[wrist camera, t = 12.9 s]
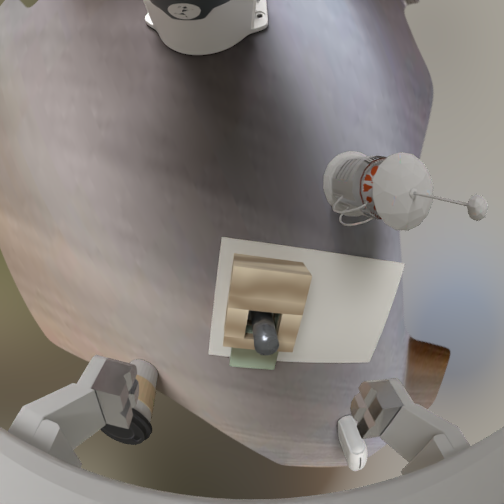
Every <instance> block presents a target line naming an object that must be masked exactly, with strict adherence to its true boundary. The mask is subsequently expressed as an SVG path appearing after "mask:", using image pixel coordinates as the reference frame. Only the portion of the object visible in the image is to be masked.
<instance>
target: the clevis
mask: <svg viewBox="0 0 504 504" xmlns="http://www.w3.org/2000/svg"><path fill="white" fill-rule="evenodd" d="M311 279H312V275H311V273H310V272H309V270H308V269H307V268H306V266H305V265H304V263H303V262H296V261H289V260H281V259H274V258H266V257H259V256H251V255H244V254H237V253H234V258H233V265H232V272H231V279H230V286H229V293H228V301H227V308H226V316H225V323H224V338H223V346H224V347H231V354H230V366H233V367H244V368H255V369H270V370H274V368H275V364H276V360H277V357H278V353H279V352H293V348H294V345H295V341H296V338H297V334H298V330H299V327H300V323H301V319H302V315H303V312H304V308H305V304H306V300H307V296H308V292H309V288H310V284H311ZM249 310H252V311H261V312H271V313H274V314H273V321H274V325H275V329H276V333H277V337H278V341H279V348H278V350H277V351H276V352H275V353H273V354H271V355H260V354H259V353H257V352H256V350H255V348H254V339H253V330H252V321H251V320H249V319H248V313H249Z"/></svg>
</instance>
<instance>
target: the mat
mask: <svg viewBox="0 0 504 504" xmlns="http://www.w3.org/2000/svg"><path fill="white" fill-rule="evenodd" d="M234 253H237V254H244V255H251V256H259V257H266V258H274V259H281V260H289V261H296V262H303V263H304V265H305V266H306V268H307V269H308V270H309V272H310V273H311V275H312V279H311V284H310V288H309V292H308V296H307V300H306V304H305V308H304V312H303V315H302V319H301V323H300V327H299V330H298V334H297V338H296V341H295V345H294V348H293V352H279V353H278V357H277V360H276V361H286V362H310V363H364V362H370V360H371V357H372V355H373V353H374V350H375V348H376V346H377V343H378V341H379V338H380V336H381V333H382V331H383V328H384V325H385V323H386V320H387V317H388V315H389V312H390V309H391V306H392V303H393V300H394V298H395V295H396V291H397V288H398V285H399V282H400V279H401V276H402V272H403V269H404V263H399V262H393V261H386V260H380V259H373V258H367V257H360V256H354V255H347V254H340V253H334V252H327V251H320V250H313V249H306V248H299V247H293V246H286V245H279V244H271V243H264V242H257V241H250V240H243V239H236V238H228V237H222V240H221V247H220V255H219V263H218V271H217V279H216V288H215V296H214V305H213V314H212V324H211V333H210V343H209V353H208V354H210V355H217V356H226V357H230V354H231V347H224V346H223V338H224V323H225V316H226V308H227V301H228V293H229V286H230V279H231V272H232V265H233V258H234ZM273 314H274V313H272V317H273ZM248 319H249V320H251V312H250V310H249V313H248Z"/></svg>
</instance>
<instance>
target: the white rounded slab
mask: <svg viewBox="0 0 504 504" xmlns="http://www.w3.org/2000/svg"><path fill="white" fill-rule="evenodd" d="M338 437H339V441H340V444H341V447H342V449H343V452H344V455H345V458H346V461H347V464H348V466H349V468H350V469H351V470H353V471H357V470H360V469H362V468H363V467H364V466H365V464H366V461H367V447H366V444H365V442H364V439H361V436H360V434H359V431H358V429H357V423H356V421H355V419H353V417H352V416H351V415H348V416H344V417H342V418H341V419H340V420H338Z"/></svg>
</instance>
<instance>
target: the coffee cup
mask: <svg viewBox="0 0 504 504" xmlns="http://www.w3.org/2000/svg"><path fill="white" fill-rule="evenodd" d="M130 364H134V365H136V368H137V375H136V380H137V381H138V382H139V396H138V401H137V404H136V406H135V407H134V408H132V413H133V417H132V420H131V423H130V426H129V429H126V428H122V427H118V426H114V425H110V424H106V425H105V426H104V427H102V428H101V431H103V432H104V433H105V434H106V435H107V436H109V437H111V438H112V439H114V440H116V441H119V442H122V443H125V444H131V445H134V444H135V445H136V444H140V443H142V442H143V441H144V440H146V439H147V438H149V436H150V434H151V433H152V426H151V424H150V420H151V418H152V412H153V406H154V400H155V393H156V391H155V389H156V383H157V377H158V372H157V370H156V368H155V367H154V366H153V365H152V364H150V363H149V362H147V361H145V360H141V359H135V360H133V361H131V362H130Z"/></svg>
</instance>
